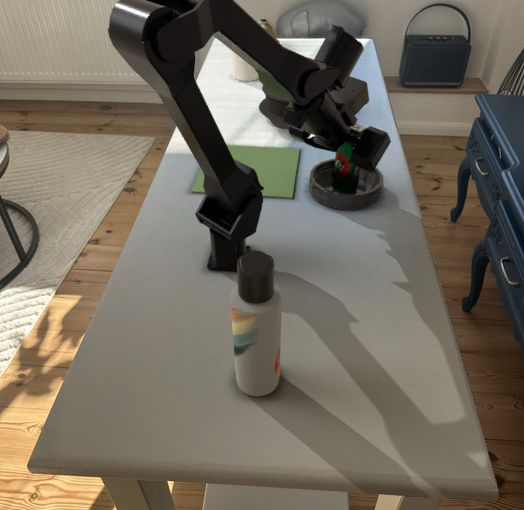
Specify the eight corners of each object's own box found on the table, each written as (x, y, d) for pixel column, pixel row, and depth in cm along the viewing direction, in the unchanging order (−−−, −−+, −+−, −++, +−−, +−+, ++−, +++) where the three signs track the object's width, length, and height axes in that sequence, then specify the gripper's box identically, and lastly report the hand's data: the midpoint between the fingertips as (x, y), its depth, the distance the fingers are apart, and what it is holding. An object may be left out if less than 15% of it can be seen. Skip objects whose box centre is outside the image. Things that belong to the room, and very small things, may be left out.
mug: (235, 66, 141) (233, 24, 133) (263, 66, 141) (263, 25, 133) (230, 81, 133) (228, 38, 125) (260, 82, 133) (259, 39, 125)
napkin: (292, 198, 93) (292, 197, 93) (191, 192, 95) (191, 190, 95) (299, 150, 106) (299, 148, 106) (210, 145, 108) (210, 144, 108)
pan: (381, 212, 90) (384, 197, 88) (306, 208, 91) (308, 192, 89) (378, 175, 99) (381, 160, 97) (310, 171, 100) (312, 156, 98)
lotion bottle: (278, 363, 66) (281, 241, 51) (280, 397, 62) (285, 276, 47) (236, 364, 66) (227, 243, 51) (236, 398, 62) (227, 278, 47)
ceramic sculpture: (282, 10, 147) (279, 29, 137) (282, 42, 153) (279, 62, 144) (247, 10, 147) (242, 28, 138) (248, 42, 154) (244, 61, 145)
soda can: (356, 197, 93) (366, 135, 84) (330, 195, 94) (337, 133, 85) (358, 184, 96) (368, 123, 87) (333, 181, 97) (340, 121, 88)
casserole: (338, 138, 110) (343, 100, 104) (257, 138, 110) (257, 99, 104) (330, 95, 127) (334, 59, 120) (259, 94, 127) (259, 59, 121)
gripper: (396, 81, 71) (420, 132, 85) (303, 51, 80) (337, 101, 94) (355, 150, 74) (385, 189, 87) (269, 114, 83) (308, 154, 96)
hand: (353, 156), depth 91 cm, fingers open, 6 cm apart
